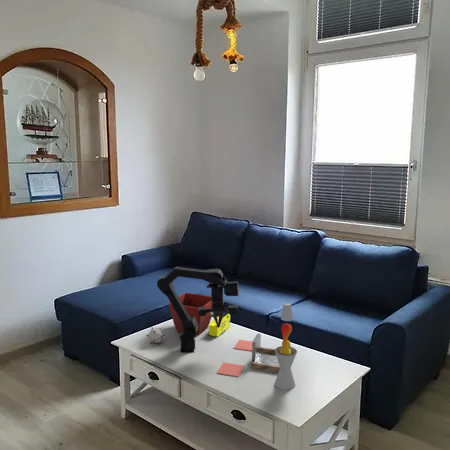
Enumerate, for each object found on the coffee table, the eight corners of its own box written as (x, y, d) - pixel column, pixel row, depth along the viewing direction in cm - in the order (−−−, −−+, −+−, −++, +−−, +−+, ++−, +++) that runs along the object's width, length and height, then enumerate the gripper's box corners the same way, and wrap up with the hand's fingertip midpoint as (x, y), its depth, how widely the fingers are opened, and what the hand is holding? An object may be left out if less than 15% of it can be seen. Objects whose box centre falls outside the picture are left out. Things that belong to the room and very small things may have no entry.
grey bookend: (251, 364, 211) (252, 341, 209) (257, 355, 221) (257, 333, 219) (277, 368, 208) (278, 345, 206) (282, 358, 217) (282, 336, 215)
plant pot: (216, 326, 254) (216, 297, 251) (200, 339, 237) (200, 308, 234) (185, 320, 262) (185, 292, 259) (168, 333, 245) (167, 302, 242)
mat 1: (216, 373, 203) (216, 372, 203) (223, 363, 212) (223, 362, 212) (238, 377, 200) (238, 376, 200) (244, 366, 209) (244, 365, 209)
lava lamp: (295, 390, 189) (298, 309, 183) (273, 388, 191) (275, 307, 184) (295, 379, 198) (298, 301, 192) (274, 377, 199) (276, 300, 193)
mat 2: (233, 348, 227) (233, 347, 227) (239, 340, 237) (239, 339, 237) (253, 351, 224) (253, 350, 224) (258, 343, 234) (258, 342, 234)
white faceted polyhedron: (159, 348, 235) (170, 331, 236) (155, 349, 227) (167, 332, 228) (145, 338, 237) (156, 321, 238) (140, 339, 229) (152, 322, 230)
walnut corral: (250, 368, 208) (250, 363, 207) (259, 351, 224) (259, 346, 224) (283, 373, 203) (283, 368, 203) (290, 356, 220) (290, 351, 219)
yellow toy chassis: (218, 338, 240) (218, 323, 238) (208, 336, 242) (208, 321, 240) (230, 327, 254) (231, 312, 252) (221, 325, 256) (221, 311, 255)
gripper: (197, 302, 211) (199, 335, 214) (238, 300, 212) (239, 332, 215) (197, 295, 222) (198, 326, 225) (236, 292, 223) (237, 323, 226)
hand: (218, 327), depth 222 cm, fingers closed
